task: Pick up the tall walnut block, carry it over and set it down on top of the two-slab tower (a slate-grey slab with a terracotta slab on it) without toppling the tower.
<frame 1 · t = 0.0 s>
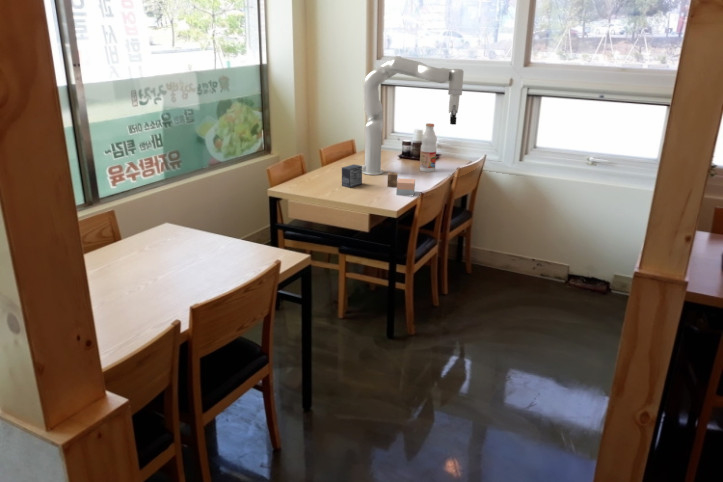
hand: (452, 123, 336), 31 cm above the table, tool pointing down, fingers open, 9 cm apart
tower top: (405, 187, 311), point 3 cm above the table
fruit juice: (427, 170, 361), on the table
small box: (351, 185, 325), on the table
tower base: (405, 193, 313), on the table
block: (392, 185, 325), on the table
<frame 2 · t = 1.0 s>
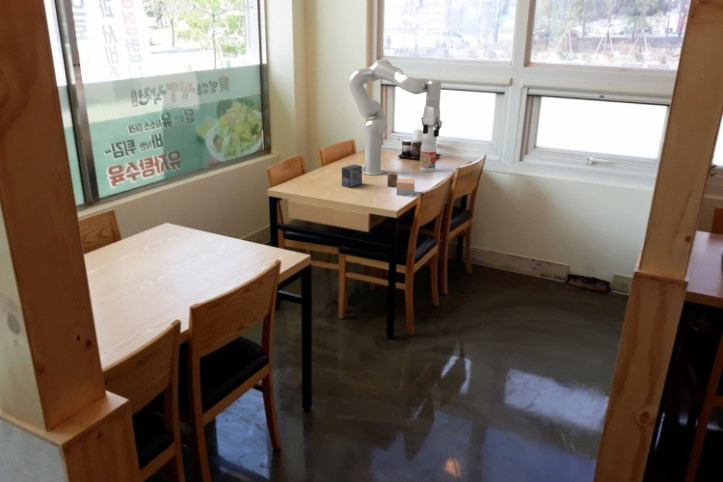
hand: (430, 135, 329), 26 cm above the table, tool pointing down, fingers open, 9 cm apart
tower top: (405, 187, 311), point 3 cm above the table, touching tower base
tower base: (405, 193, 313), on the table, touching tower top
everything else where it was.
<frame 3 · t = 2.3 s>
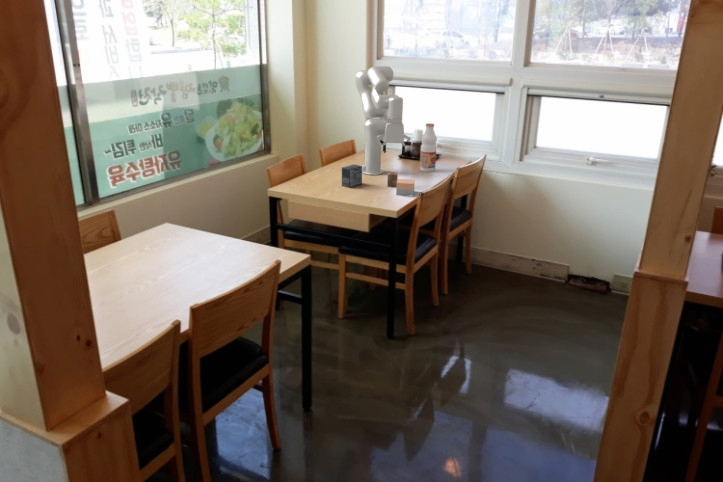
hand: (393, 152, 319), 18 cm above the table, tool pointing down, fingers open, 9 cm apart
nothing on the table moved.
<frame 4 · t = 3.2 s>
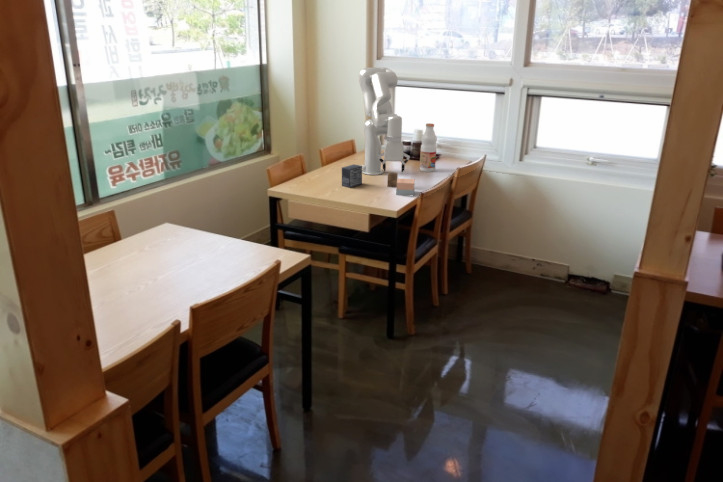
hand: (393, 171, 322), 8 cm above the table, tool pointing down, fingers open, 9 cm apart
nothing on the table moved.
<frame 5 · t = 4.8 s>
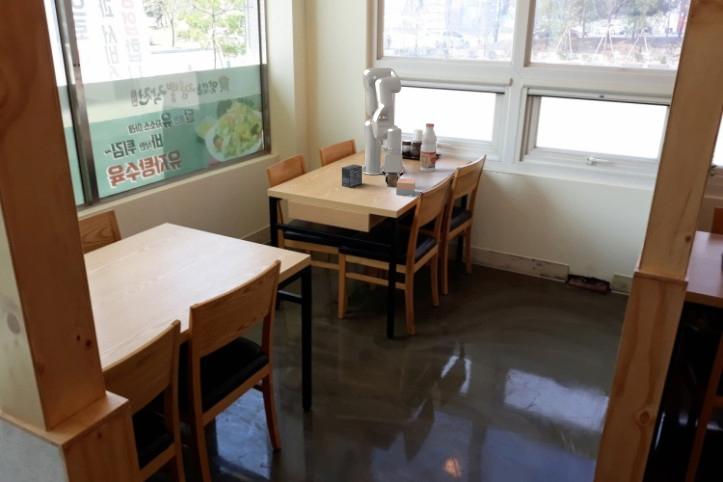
hand: (392, 183, 325), 1 cm above the table, tool pointing down, fingers closed on block, 5 cm apart
block: (392, 185, 325), on the table, touching gripper
everything else where it was.
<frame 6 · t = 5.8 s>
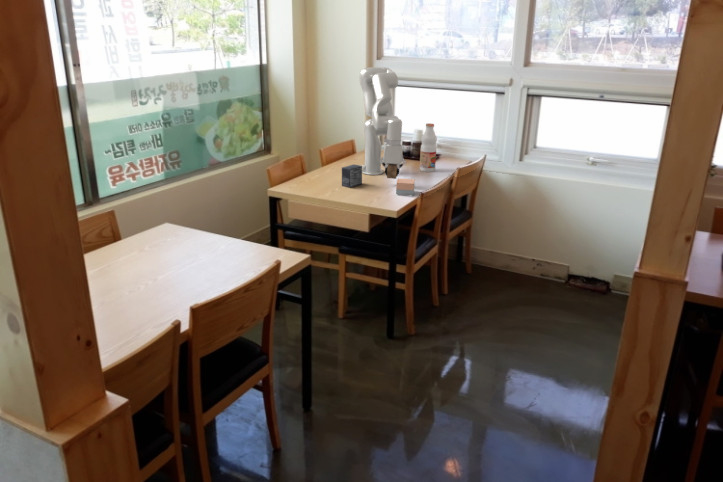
hand: (392, 174, 324), 6 cm above the table, tool pointing down, fingers closed on block, 5 cm apart
block: (391, 177, 325), point 5 cm above the table, touching gripper
everything else where it was.
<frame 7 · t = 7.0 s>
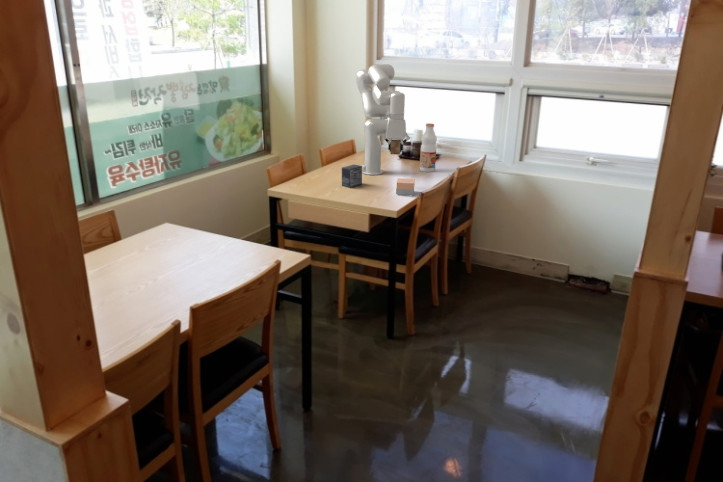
hand: (395, 151, 317), 20 cm above the table, tool pointing down, fingers closed on block, 5 cm apart
block: (395, 153, 317), point 18 cm above the table, touching gripper
everything else where it was.
when the fingers open (10 cm above the table, at t = 10.4 s): block drops 2 cm, resting on tower top.
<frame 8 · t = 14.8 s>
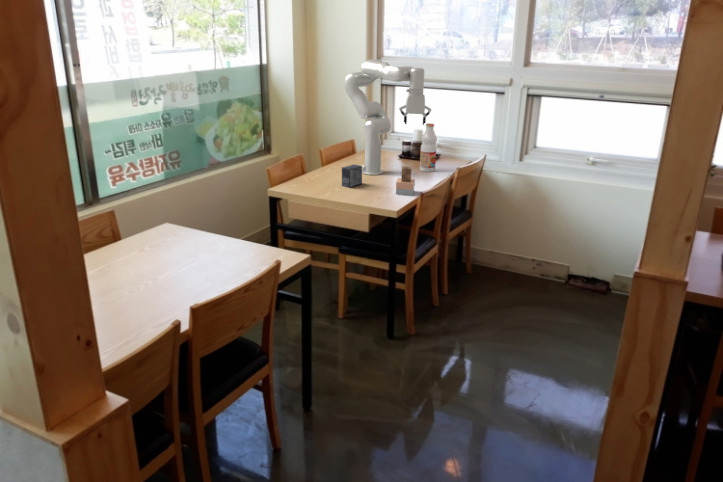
hand: (414, 124, 323), 32 cm above the table, tool pointing down, fingers open, 9 cm apart
tower top: (405, 187, 312), point 3 cm above the table, touching block, tower base
block: (406, 180, 311), point 7 cm above the table, touching tower top
everything else where it was.
at the end: block inside the target area on the tower top (0.2 cm from its centre), point 3.5 cm above the tower top's base; tower top tilted 0°; block tilted 0° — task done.
